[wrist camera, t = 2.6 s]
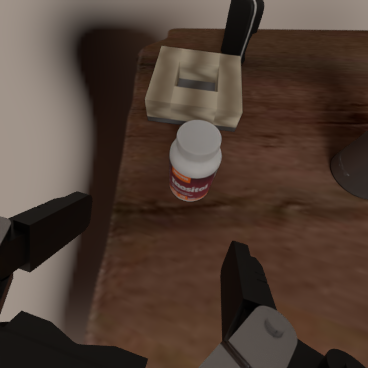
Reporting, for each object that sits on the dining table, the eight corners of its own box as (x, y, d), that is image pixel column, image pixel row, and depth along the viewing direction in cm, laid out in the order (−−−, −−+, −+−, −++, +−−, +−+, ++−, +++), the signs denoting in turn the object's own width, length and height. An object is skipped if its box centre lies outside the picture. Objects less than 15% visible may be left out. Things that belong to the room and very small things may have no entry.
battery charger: (248, 63, 45) (271, 0, 35) (235, 67, 44) (254, 2, 34) (232, 48, 47) (248, -16, 37) (219, 51, 46) (232, -13, 36)
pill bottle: (165, 199, 28) (162, 155, 18) (173, 164, 31) (174, 110, 21) (207, 206, 28) (227, 165, 18) (211, 170, 31) (229, 118, 21)
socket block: (233, 77, 42) (240, 56, 38) (234, 131, 35) (242, 112, 31) (162, 68, 42) (161, 46, 38) (148, 120, 35) (144, 99, 31)
